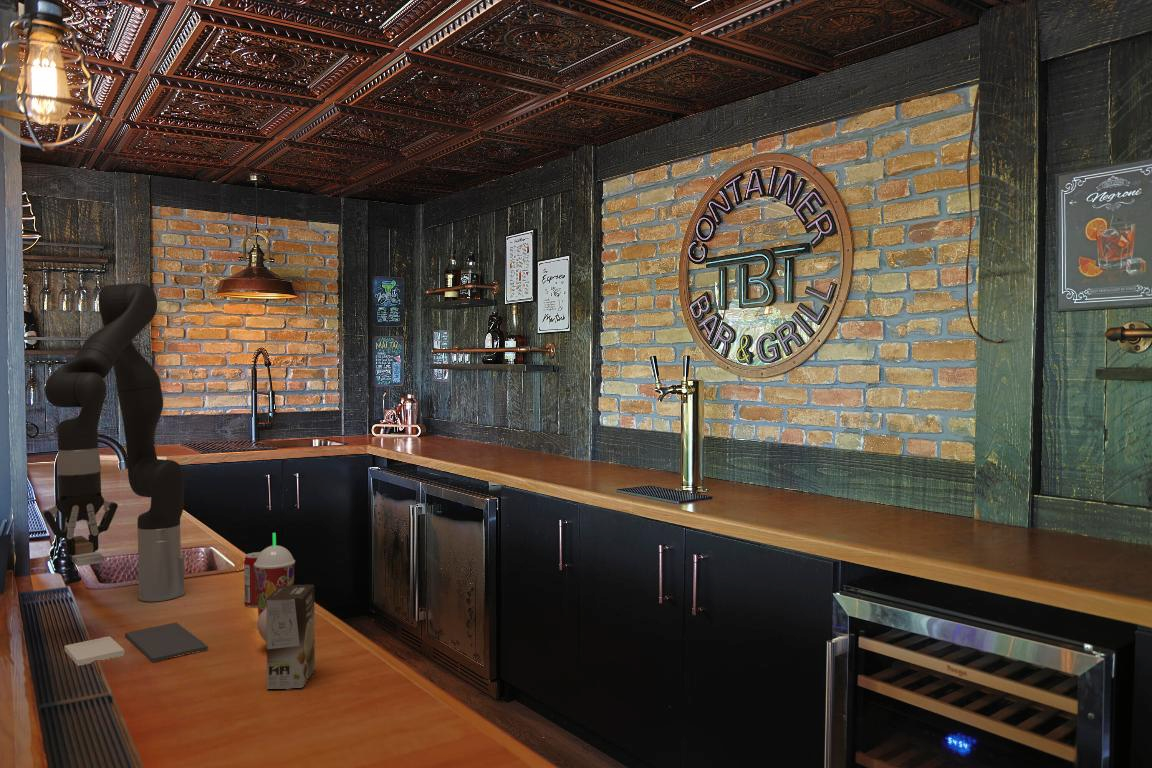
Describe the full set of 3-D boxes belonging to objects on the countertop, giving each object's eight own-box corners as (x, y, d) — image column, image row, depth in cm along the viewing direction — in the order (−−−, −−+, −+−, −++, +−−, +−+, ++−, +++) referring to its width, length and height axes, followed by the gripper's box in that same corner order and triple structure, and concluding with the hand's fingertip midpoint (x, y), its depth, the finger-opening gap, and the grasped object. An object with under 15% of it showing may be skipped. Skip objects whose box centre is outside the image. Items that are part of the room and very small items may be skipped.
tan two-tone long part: (61, 552, 174) (60, 538, 174) (86, 548, 177) (85, 535, 177) (77, 566, 163) (77, 551, 163) (104, 562, 166) (103, 547, 166)
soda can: (275, 602, 196) (274, 552, 196) (257, 608, 191) (256, 557, 191) (257, 599, 199) (256, 549, 198) (239, 606, 194) (238, 554, 193)
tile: (109, 636, 170) (124, 649, 162) (109, 643, 170) (124, 658, 162) (64, 645, 165) (77, 660, 156) (64, 653, 165) (77, 668, 157)
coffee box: (304, 689, 145) (302, 598, 144) (266, 691, 144) (264, 599, 144) (316, 670, 154) (314, 583, 154) (280, 671, 154) (279, 584, 153)
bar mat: (176, 626, 179) (176, 622, 179) (207, 650, 165) (207, 646, 165) (125, 636, 173) (125, 632, 173) (153, 662, 158) (153, 658, 158)
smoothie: (304, 621, 182) (302, 530, 182) (278, 633, 174) (277, 538, 174) (272, 617, 185) (271, 528, 184) (246, 629, 177) (244, 535, 176)
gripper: (112, 465, 177) (115, 546, 178) (34, 472, 167) (38, 557, 168) (122, 469, 171) (125, 552, 172) (42, 476, 162) (45, 564, 163)
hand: (82, 554), depth 170 cm, fingers closed on tan two-tone long part, 3 cm apart
